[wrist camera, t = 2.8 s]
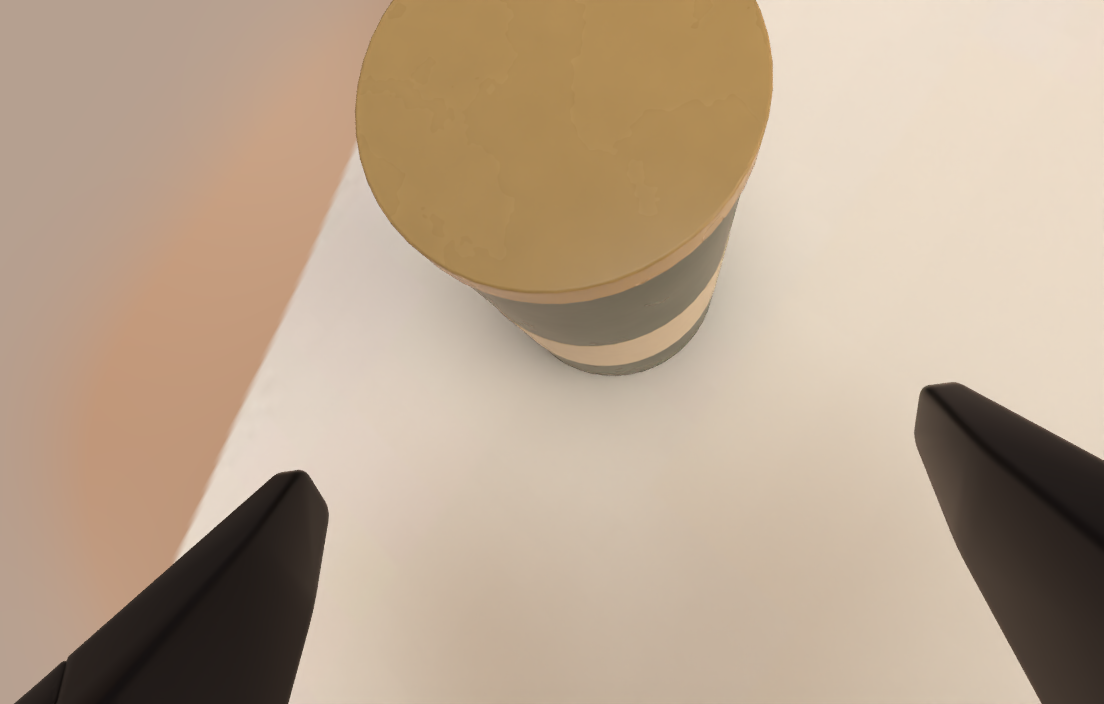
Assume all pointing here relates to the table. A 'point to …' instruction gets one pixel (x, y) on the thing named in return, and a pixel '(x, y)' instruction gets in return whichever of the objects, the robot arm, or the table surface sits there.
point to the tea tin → (570, 158)
